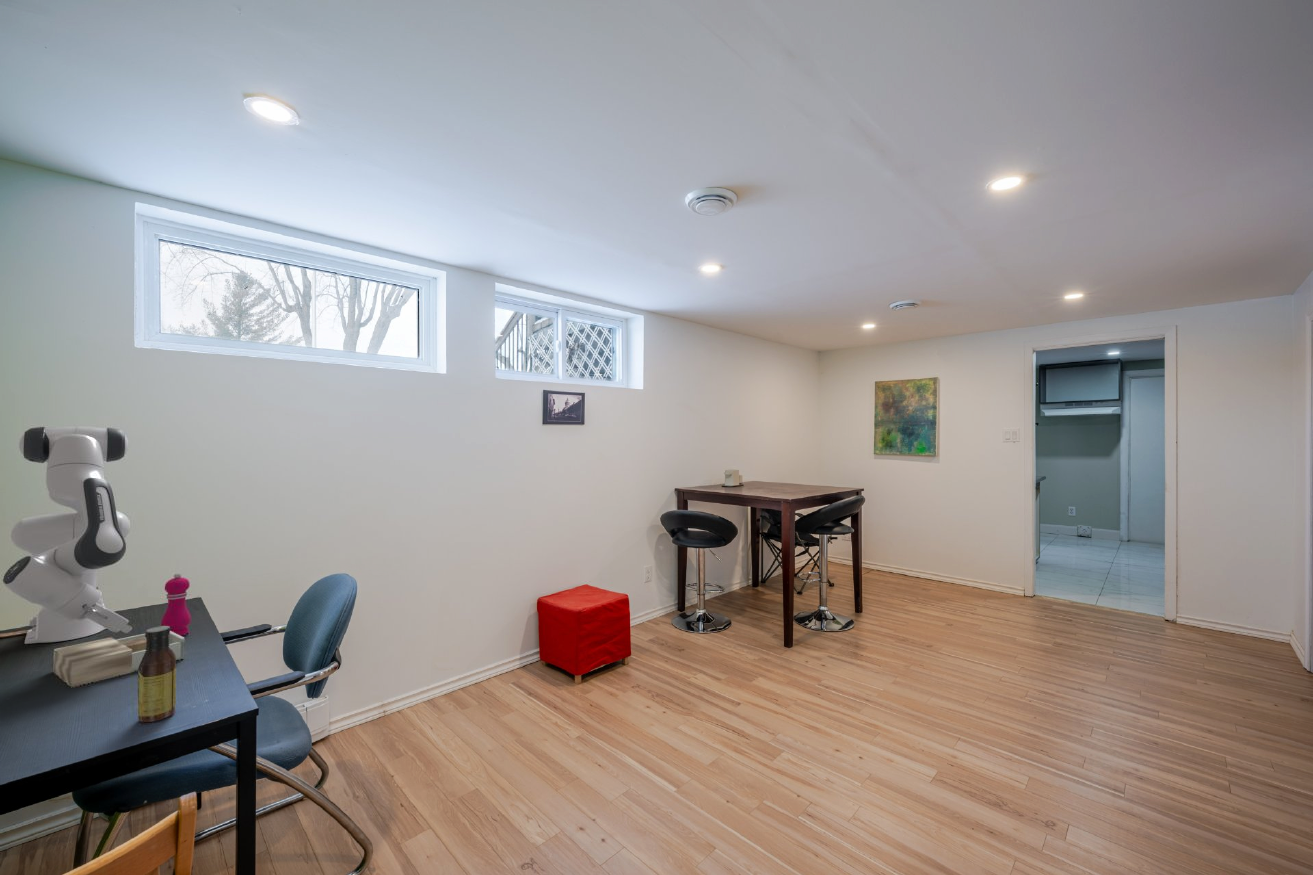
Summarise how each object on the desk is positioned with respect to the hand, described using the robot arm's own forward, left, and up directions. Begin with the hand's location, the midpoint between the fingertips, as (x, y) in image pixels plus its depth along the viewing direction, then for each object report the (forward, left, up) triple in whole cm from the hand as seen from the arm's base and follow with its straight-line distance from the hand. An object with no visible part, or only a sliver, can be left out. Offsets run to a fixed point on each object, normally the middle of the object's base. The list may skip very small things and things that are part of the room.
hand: (128, 630), depth 148 cm
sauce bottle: (+46, -6, -10) cm, 47 cm away
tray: (0, +4, -9) cm, 10 cm away
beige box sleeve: (0, -7, -9) cm, 12 cm away
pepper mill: (-18, +16, -10) cm, 26 cm away
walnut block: (0, -1, -6) cm, 6 cm away
